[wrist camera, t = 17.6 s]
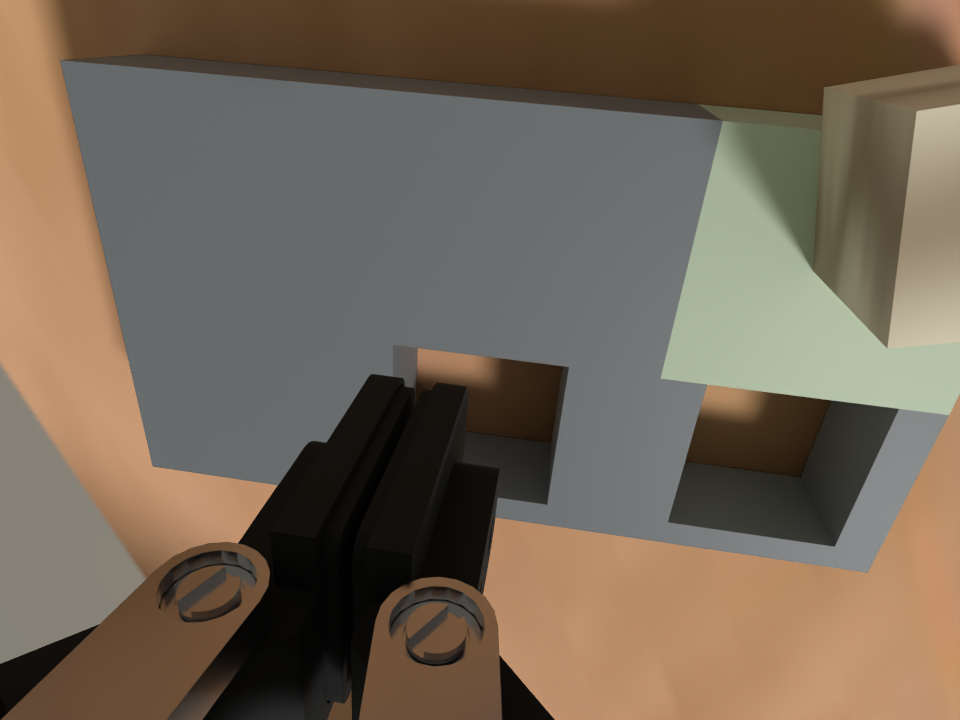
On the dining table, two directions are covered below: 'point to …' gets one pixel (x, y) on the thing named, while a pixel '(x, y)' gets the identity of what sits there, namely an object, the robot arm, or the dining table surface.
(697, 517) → the board
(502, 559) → the dining table surface
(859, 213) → the maple block
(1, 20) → the dining table surface
